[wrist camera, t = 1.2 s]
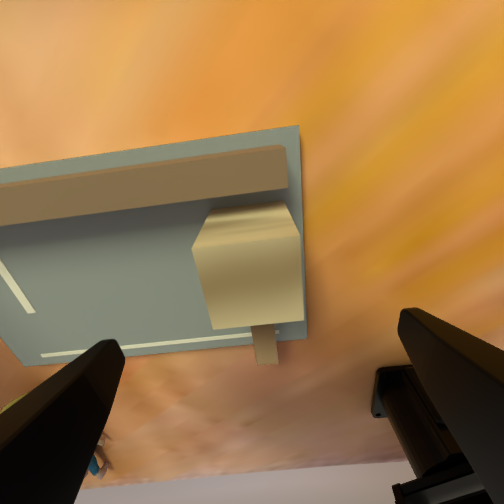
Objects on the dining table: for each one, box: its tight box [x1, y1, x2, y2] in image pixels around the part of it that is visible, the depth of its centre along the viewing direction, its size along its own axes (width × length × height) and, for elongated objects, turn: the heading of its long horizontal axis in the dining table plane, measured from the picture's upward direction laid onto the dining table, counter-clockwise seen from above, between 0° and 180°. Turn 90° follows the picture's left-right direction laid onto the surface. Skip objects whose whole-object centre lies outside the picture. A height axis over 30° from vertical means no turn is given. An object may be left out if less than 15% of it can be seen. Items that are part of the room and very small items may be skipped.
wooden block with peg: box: [191, 200, 304, 365], centre depth 13 cm, size 10×4×5 cm, turn 7°
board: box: [0, 125, 307, 367], centre depth 15 cm, size 14×22×3 cm, turn 98°
